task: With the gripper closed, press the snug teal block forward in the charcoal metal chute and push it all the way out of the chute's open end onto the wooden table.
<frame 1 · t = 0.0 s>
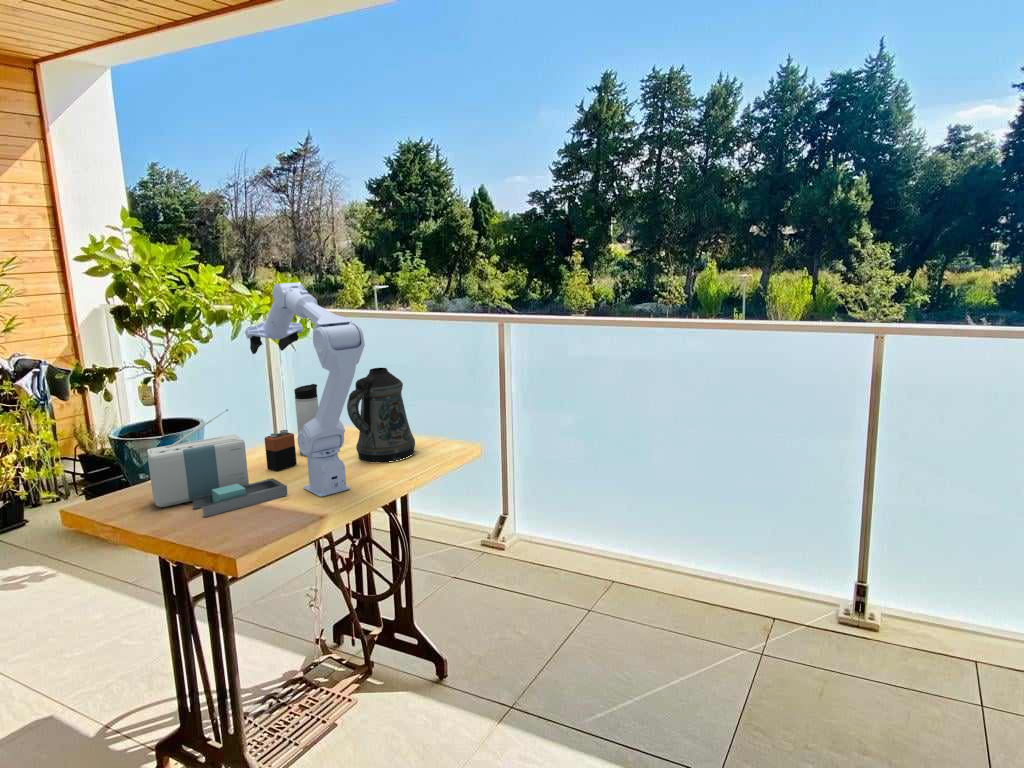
hand: (266, 349, 186), 32 cm above the table, tool tilted 50°, fingers open, 7 cm apart
travel mug: (311, 453, 203), on the table
chute: (238, 502, 164), on the table
battery: (282, 468, 190), on the table
block: (230, 505, 162), resting in chute
beer stein: (385, 457, 197), on the table
stereo radio cassette player: (201, 497, 169), on the table
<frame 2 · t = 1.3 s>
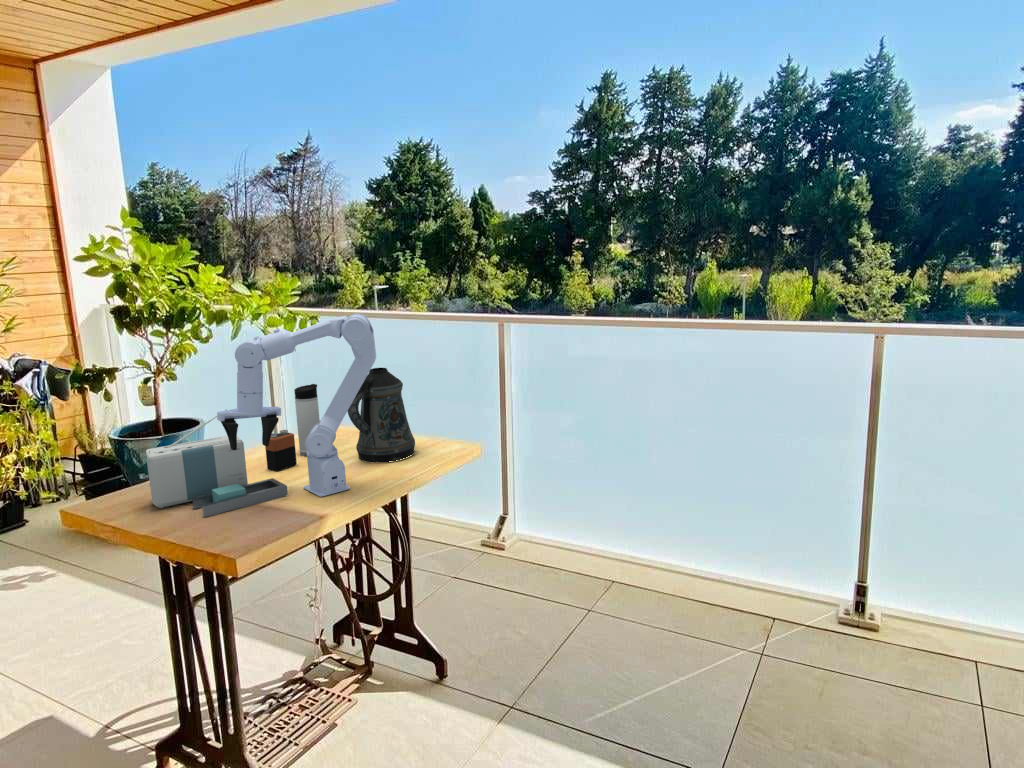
hand: (249, 447, 167), 12 cm above the table, tool pointing down, fingers open, 7 cm apart
nothing on the table moved.
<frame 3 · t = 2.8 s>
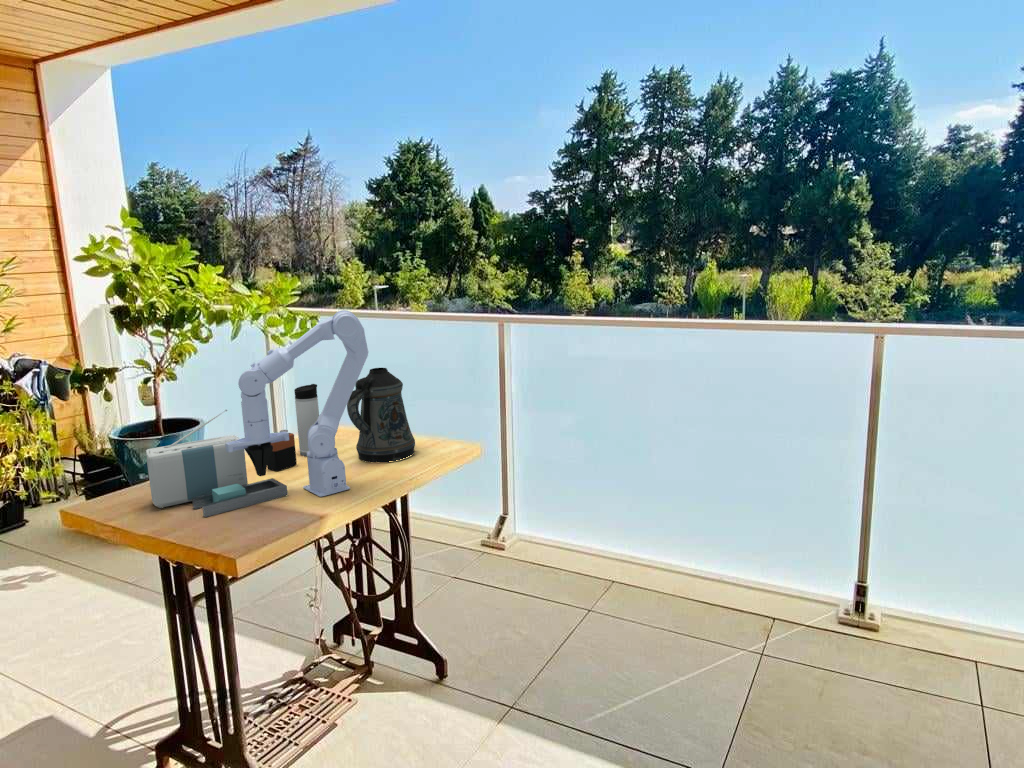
hand: (261, 474, 167), 5 cm above the table, tool pointing down, fingers closed
nothing on the table moved.
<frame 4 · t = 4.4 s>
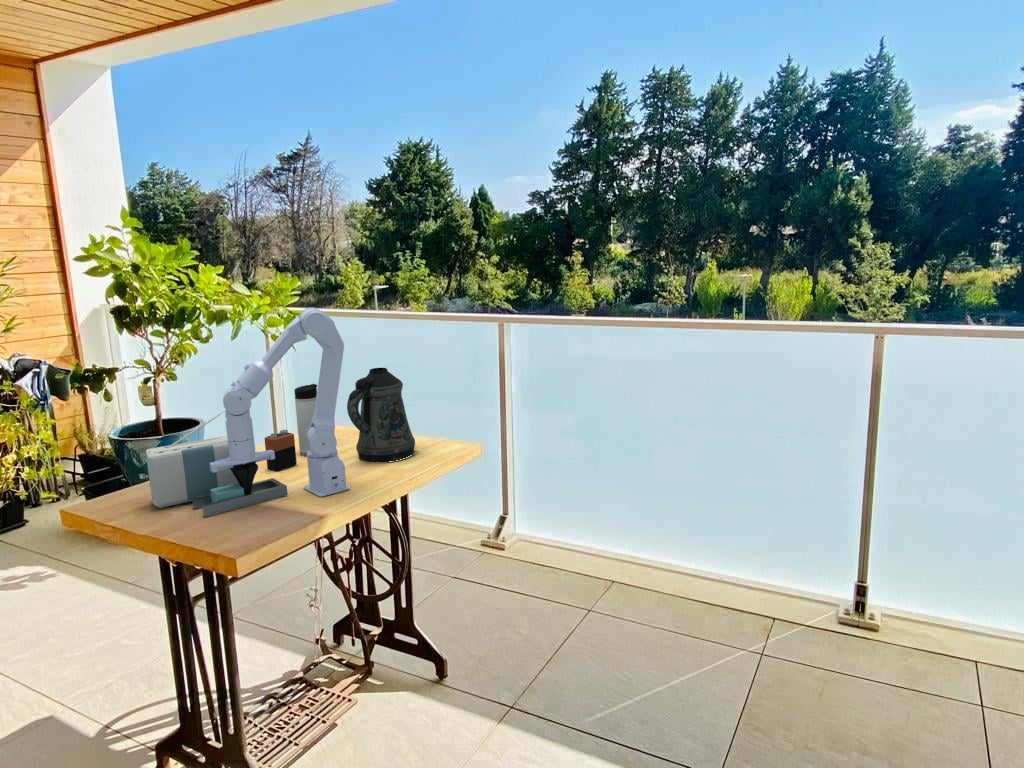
hand: (246, 494, 165), 1 cm above the table, tool pointing down, fingers closed
block: (228, 505, 162), resting in chute, touching gripper
everything else where it was.
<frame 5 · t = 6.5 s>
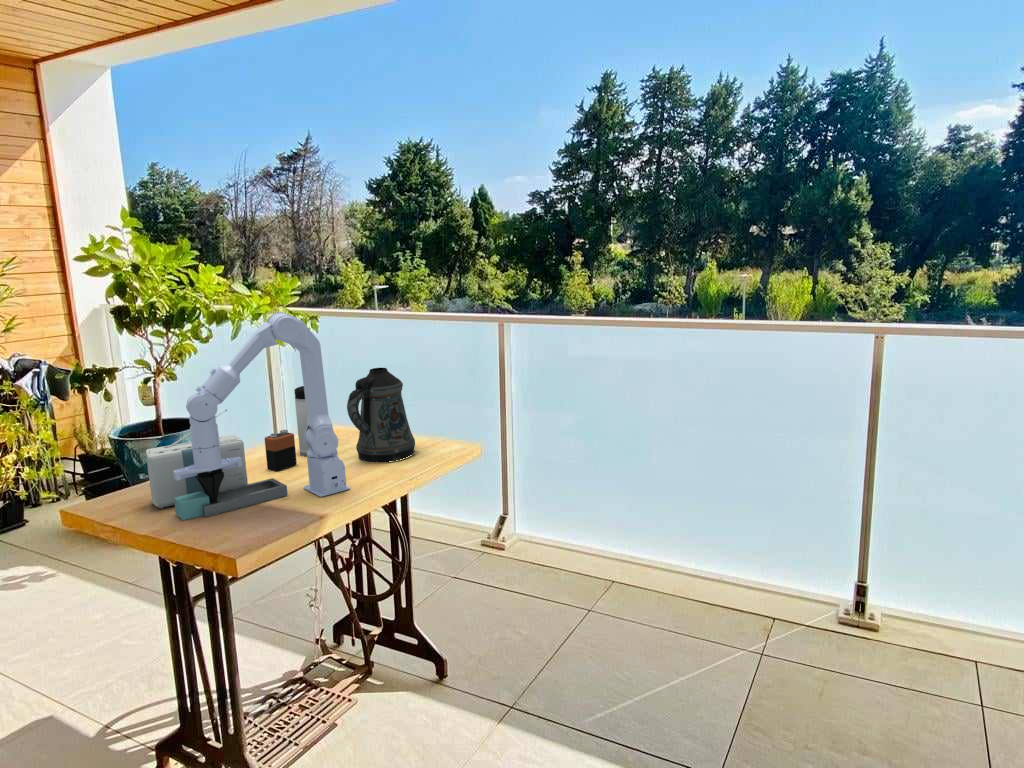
hand: (212, 502, 160), 1 cm above the table, tool pointing down, fingers closed
block: (193, 514, 157), on the table, touching gripper
everything else where it was.
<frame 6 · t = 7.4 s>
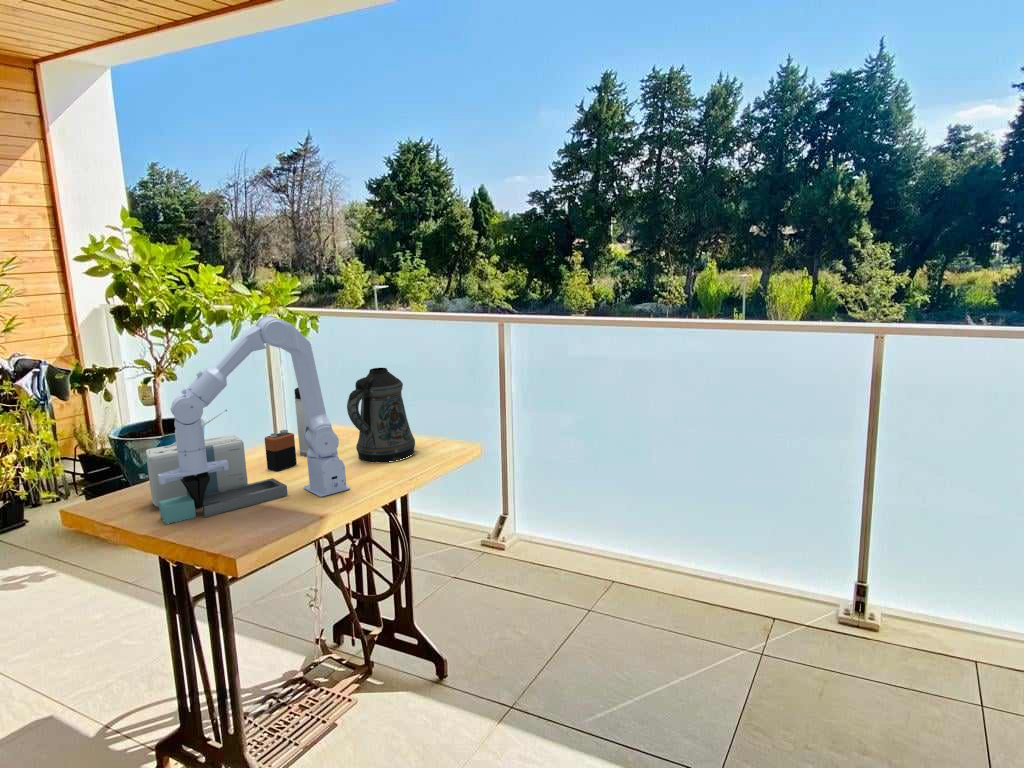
hand: (198, 506, 158), 1 cm above the table, tool pointing down, fingers closed
block: (178, 517, 155), on the table, touching gripper
everything else where it was.
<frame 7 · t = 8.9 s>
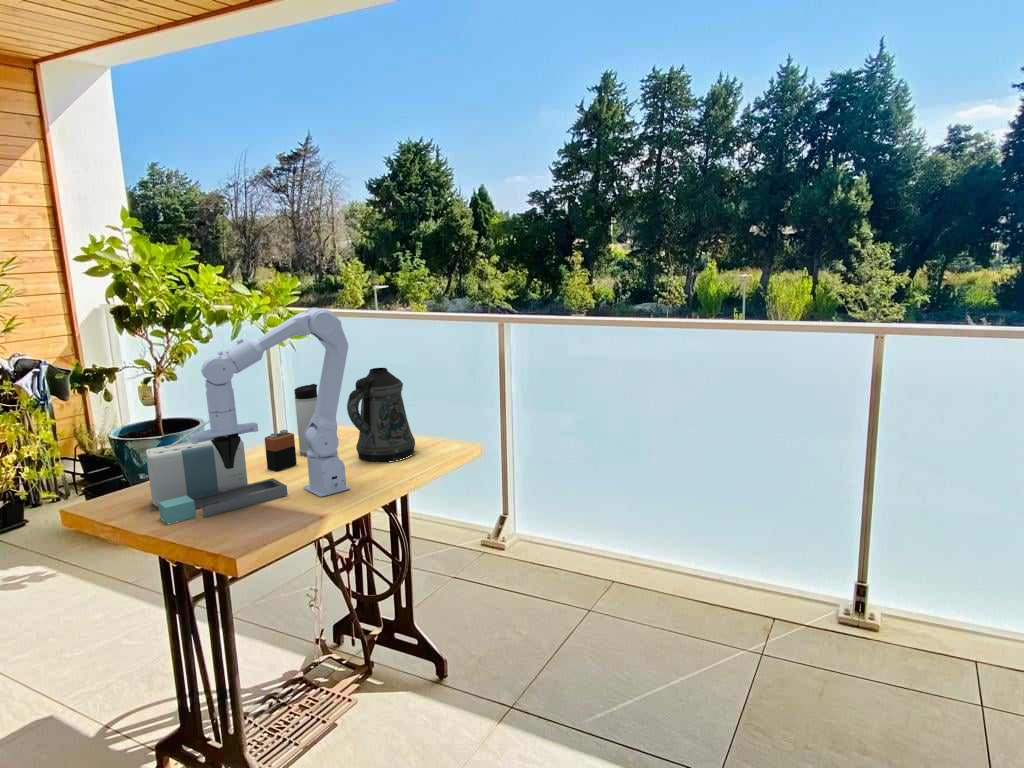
hand: (229, 467, 160), 9 cm above the table, tool pointing down, fingers closed
block: (178, 518, 155), on the table
everything else where it was.
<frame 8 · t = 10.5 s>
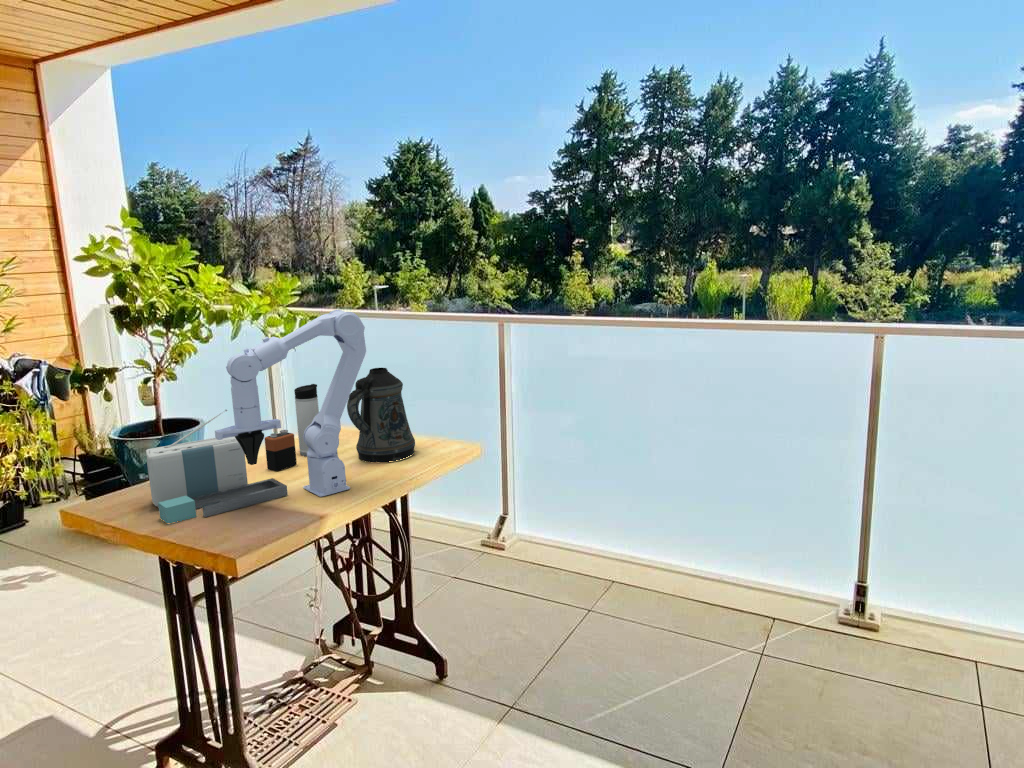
hand: (252, 463, 162), 9 cm above the table, tool pointing down, fingers closed
nothing on the table moved.
at the end: block inside the target area (3.9 cm from its centre), on the table; block tilted 0°; block moved 11.4 cm from its start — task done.
